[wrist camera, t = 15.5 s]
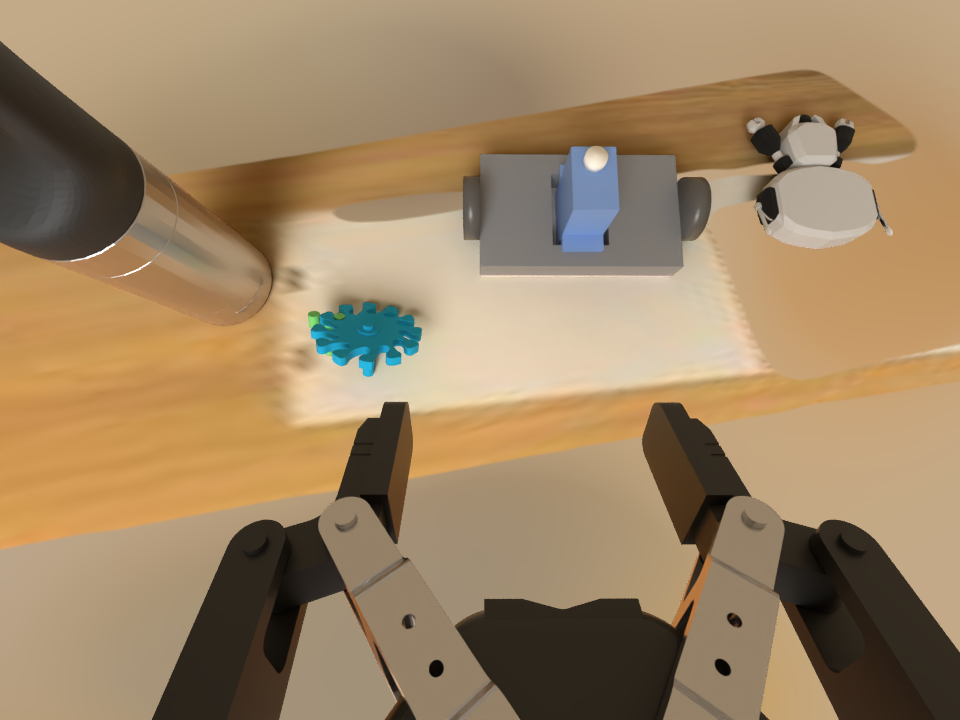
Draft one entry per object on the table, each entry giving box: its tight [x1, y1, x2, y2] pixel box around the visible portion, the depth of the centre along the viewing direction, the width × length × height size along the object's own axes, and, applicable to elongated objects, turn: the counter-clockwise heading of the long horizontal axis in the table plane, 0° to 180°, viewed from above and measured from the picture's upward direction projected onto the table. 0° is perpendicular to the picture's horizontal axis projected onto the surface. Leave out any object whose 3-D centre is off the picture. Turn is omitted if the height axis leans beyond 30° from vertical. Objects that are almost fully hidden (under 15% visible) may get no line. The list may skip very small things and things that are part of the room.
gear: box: [308, 302, 422, 377], centre depth 41 cm, size 11×6×10 cm
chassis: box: [463, 154, 711, 277], centre depth 43 cm, size 12×23×6 cm, turn 90°
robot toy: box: [746, 115, 893, 249], centre depth 45 cm, size 12×4×15 cm
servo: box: [555, 146, 620, 252], centre depth 41 cm, size 9×4×9 cm, turn 0°
